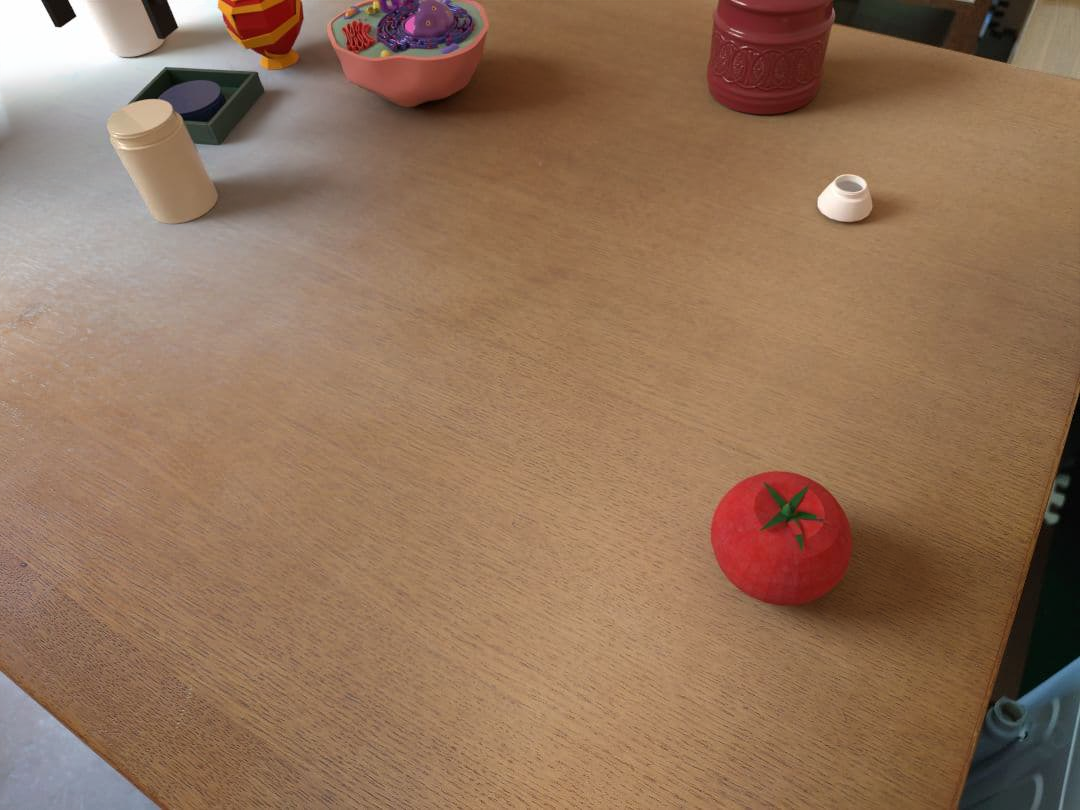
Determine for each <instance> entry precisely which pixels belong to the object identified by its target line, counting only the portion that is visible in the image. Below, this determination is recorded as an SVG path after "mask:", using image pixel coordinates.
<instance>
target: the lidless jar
mask: <svg viewBox="0 0 1080 810" xmlns="http://www.w3.org/2000/svg"><path fill="white" fill-rule="evenodd" d="M817 209H818V210H819V211H820V213H821V214H822V215H824V216H825V217H826V218H828V219H831V220H834V221H838V222H844V223H845V222H847V223H852V222H858V221H862V220H863V219H865V218H867V217H869V216H870V214H871V212H872V210H873V200H872V196H871V193H870V190H869V188H868V183H867V181H866V180H865V179H864V178H863V177H862V176H860V175H857V174H850V173H847V174H845V173H844V174H841V175H837V177H835V179H834V180H833V181H832V182H831V183H829V184H828V185H827V187H826V188H825V189H824V190H823V191H822V192H821V193H820V195H819V196H818V197H817Z"/></svg>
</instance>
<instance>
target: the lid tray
mask: <svg viewBox="0 0 1080 810" xmlns="http://www.w3.org/2000/svg"><path fill="white" fill-rule="evenodd" d="M195 80H207V81H212V82H214V83H216V84H218V85H219V87H220V89H221V91H222V93H223V95H224V97H225V100H226V103H225V104H224V106H223V107H222V108H221V109H220V110H219V111H218V112H217V114H216V115H215V116H214V117H213V118H212V119H210V120H208V121H206V122H196V121H184V123H185V125H186V127H187V129H188V131H189V133H190V136H191V138H192V140H193V142H194V144H202V145H216V146H217V145H218V146H220V145H221V144H222V143H223V141H224V140H225V139H226V138H227V136H229V134H230V133H231V132H232V131H233V129H234V128H235V127H236V126H237V125H238V123H240V121H241V120H242V119H243V117H244V116H245V115H246V114H247V113H248V111H249V110H250V109H251V108H252V107H253V106H254V105H255V103H256V102H257V101H258V99H259V98H260V97H261V96H262V95H263V94H264V92H265V89H264V86H263V83H262V80H261V78H260V74H259V72H258V71H251V70H234V69H233V70H231V69H213V68H195V67H194V68H193V67H192V68H191V67H174V66H165V67H163V69H162V70H161V71H159V72H158V73H157V74H156V75H155V77H154V78H152V79H151V80H150V82H149V83H147V84H146V85H145V86H144V87H143V88H142V89H141V90H140V91H139V92H138V93H137V94H136V95H135V96H134V97H133V98H131V100H130V101H129V102H128V103H127V104H126V105H128V104H131V103H134V102H137V101H142V100H148V99H158V98H159V97H160V95H161V94H163V93H164V92H165V91H167V90H168V89H170V88H172V87H174V86H176V85H178V84H181V83H185V82H189V81H195Z"/></svg>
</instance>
